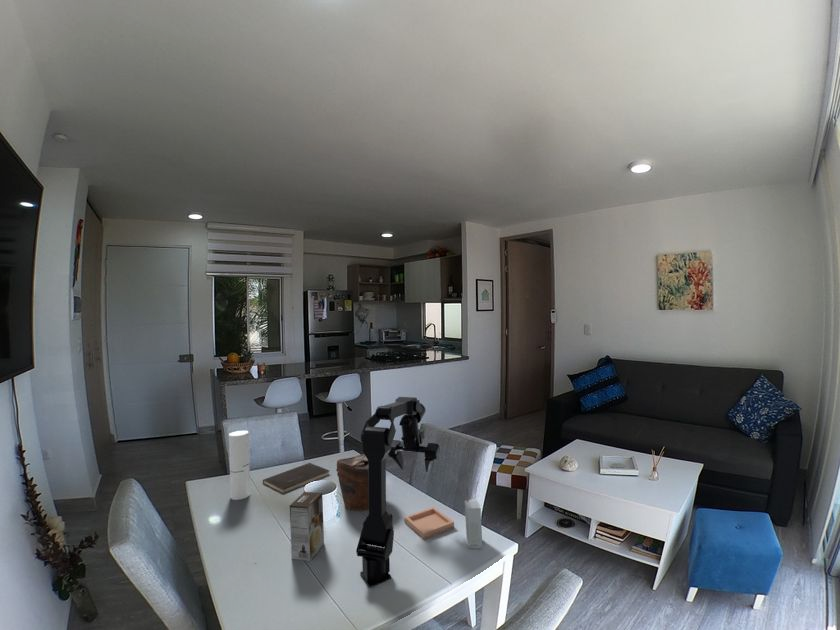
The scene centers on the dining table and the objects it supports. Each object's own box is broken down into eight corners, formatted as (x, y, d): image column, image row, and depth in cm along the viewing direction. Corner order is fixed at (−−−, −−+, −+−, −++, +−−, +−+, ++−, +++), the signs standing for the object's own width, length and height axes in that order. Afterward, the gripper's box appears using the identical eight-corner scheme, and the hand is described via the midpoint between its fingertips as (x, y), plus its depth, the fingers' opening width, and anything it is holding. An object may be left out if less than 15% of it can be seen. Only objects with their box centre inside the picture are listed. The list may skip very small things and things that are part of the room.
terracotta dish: (423, 539, 123) (423, 533, 123) (404, 522, 133) (404, 517, 133) (454, 527, 129) (454, 521, 129) (433, 512, 139) (433, 506, 139)
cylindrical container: (254, 493, 157) (252, 432, 157) (237, 501, 151) (235, 437, 151) (243, 489, 161) (241, 429, 161) (226, 497, 155) (225, 434, 155)
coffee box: (305, 541, 124) (304, 490, 124) (324, 543, 122) (323, 492, 122) (290, 559, 115) (289, 505, 115) (310, 561, 113) (309, 506, 113)
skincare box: (483, 548, 118) (482, 508, 118) (468, 549, 118) (467, 509, 117) (479, 536, 124) (478, 498, 124) (465, 537, 124) (464, 499, 124)
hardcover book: (329, 475, 175) (329, 470, 175) (282, 494, 157) (282, 489, 157) (309, 467, 185) (308, 462, 185) (262, 484, 167) (262, 479, 167)
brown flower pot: (392, 490, 157) (390, 446, 157) (378, 517, 137) (375, 466, 137) (349, 489, 160) (347, 445, 160) (330, 514, 140) (327, 465, 140)
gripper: (442, 420, 140) (445, 458, 143) (393, 417, 145) (398, 454, 149) (433, 438, 129) (438, 478, 133) (382, 433, 135) (387, 472, 139)
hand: (414, 470), depth 139 cm, fingers open, 9 cm apart
